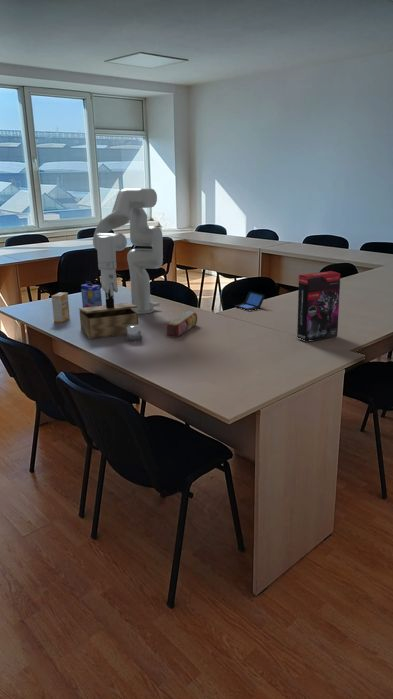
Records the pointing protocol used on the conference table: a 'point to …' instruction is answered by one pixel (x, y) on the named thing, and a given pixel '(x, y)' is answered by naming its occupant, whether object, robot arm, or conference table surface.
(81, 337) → the conference table surface
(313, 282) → the graphics card box
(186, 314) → the snack package
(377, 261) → the conference table surface
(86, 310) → the lid
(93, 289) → the ink cartridge box
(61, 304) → the supplement box
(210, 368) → the conference table surface
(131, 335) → the steel weight
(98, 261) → the robot arm
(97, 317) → the tan wicker box
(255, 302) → the handheld game console
